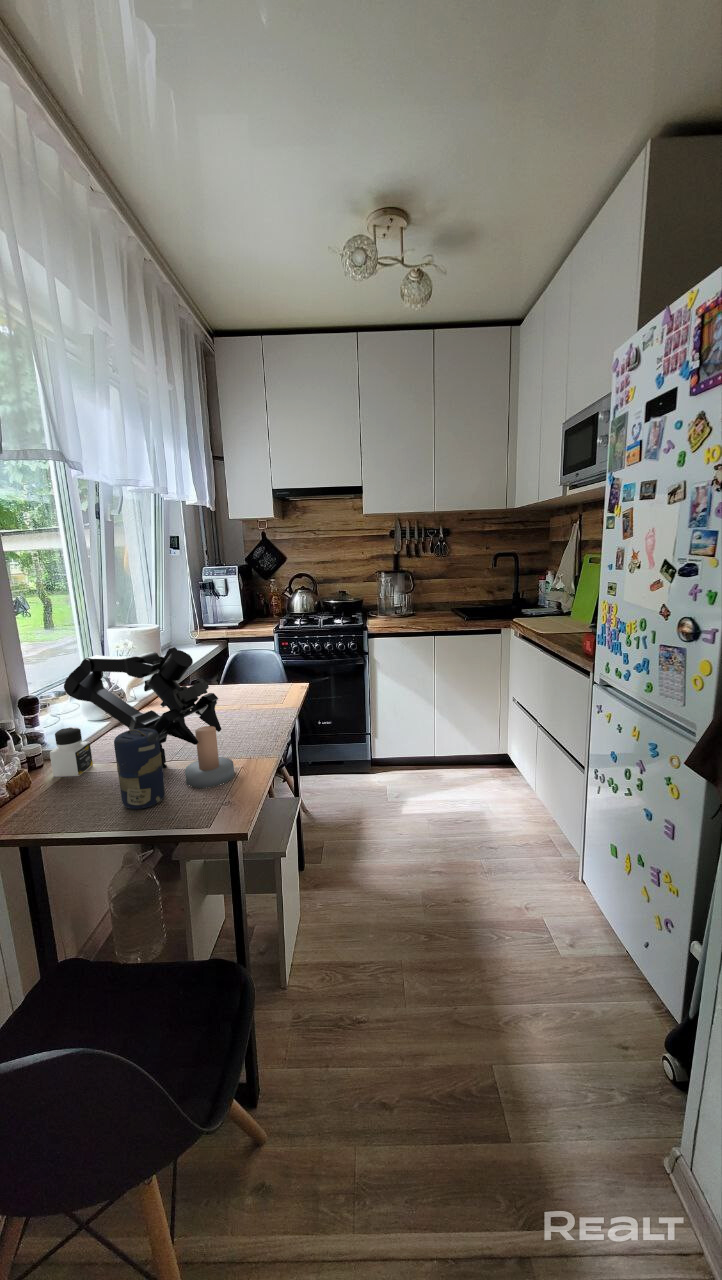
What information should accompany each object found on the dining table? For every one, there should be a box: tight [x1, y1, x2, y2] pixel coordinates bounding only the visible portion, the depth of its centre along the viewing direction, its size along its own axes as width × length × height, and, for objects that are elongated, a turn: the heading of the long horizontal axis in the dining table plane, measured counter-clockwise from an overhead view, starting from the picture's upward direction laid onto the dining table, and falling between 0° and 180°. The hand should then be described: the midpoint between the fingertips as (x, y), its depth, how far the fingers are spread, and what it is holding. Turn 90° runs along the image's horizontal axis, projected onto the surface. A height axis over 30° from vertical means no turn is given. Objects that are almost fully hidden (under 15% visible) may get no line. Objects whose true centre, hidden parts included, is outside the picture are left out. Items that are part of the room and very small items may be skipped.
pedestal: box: [184, 756, 235, 789], centre depth 132 cm, size 12×12×3 cm
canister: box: [113, 728, 166, 810], centre depth 119 cm, size 10×10×18 cm
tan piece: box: [194, 725, 220, 771], centre depth 130 cm, size 5×5×10 cm
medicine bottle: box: [49, 726, 94, 778], centre depth 138 cm, size 7×7×12 cm
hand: (209, 736), depth 130 cm, fingers open, 9 cm apart
